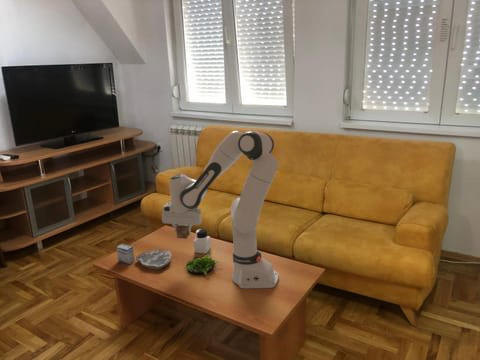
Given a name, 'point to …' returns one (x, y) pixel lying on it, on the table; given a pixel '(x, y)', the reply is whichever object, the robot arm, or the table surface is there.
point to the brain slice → (154, 259)
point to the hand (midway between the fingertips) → (183, 231)
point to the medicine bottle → (202, 241)
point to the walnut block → (182, 231)
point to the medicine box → (125, 254)
